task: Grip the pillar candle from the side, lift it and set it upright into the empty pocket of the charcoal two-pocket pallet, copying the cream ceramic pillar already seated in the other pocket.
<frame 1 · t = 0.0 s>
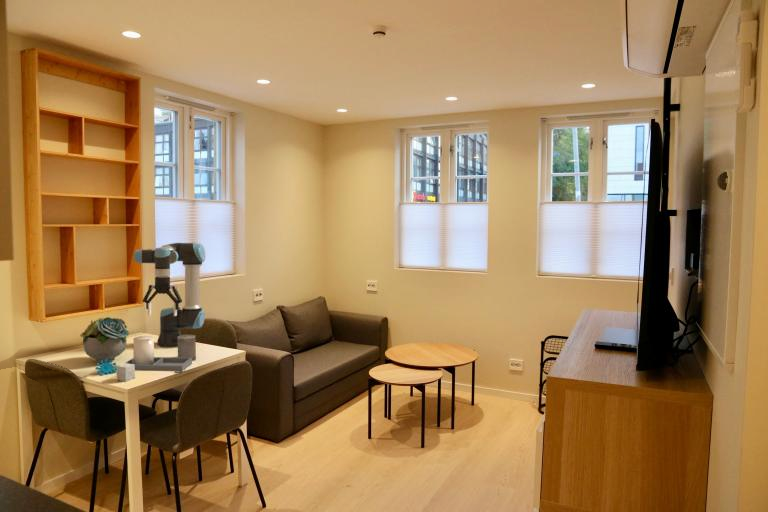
hand: (162, 315, 285), 28 cm above the table, tool pointing down, fingers open, 13 cm apart
pillar candle: (186, 360, 301), on the table
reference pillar: (143, 365, 284), point 1 cm above the table, touching pallet
gear: (107, 375, 270), on the table
pallet: (158, 367, 284), on the table
flower arrangement: (105, 361, 294), on the table
skincare box: (125, 379, 263), on the table
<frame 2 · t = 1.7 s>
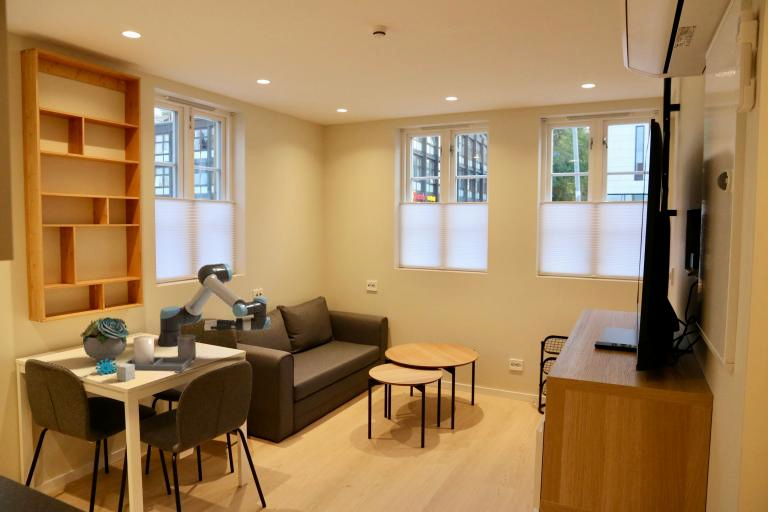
hand: (204, 325, 302), 20 cm above the table, tool horizontal, fingers open, 13 cm apart
nothing on the table moved.
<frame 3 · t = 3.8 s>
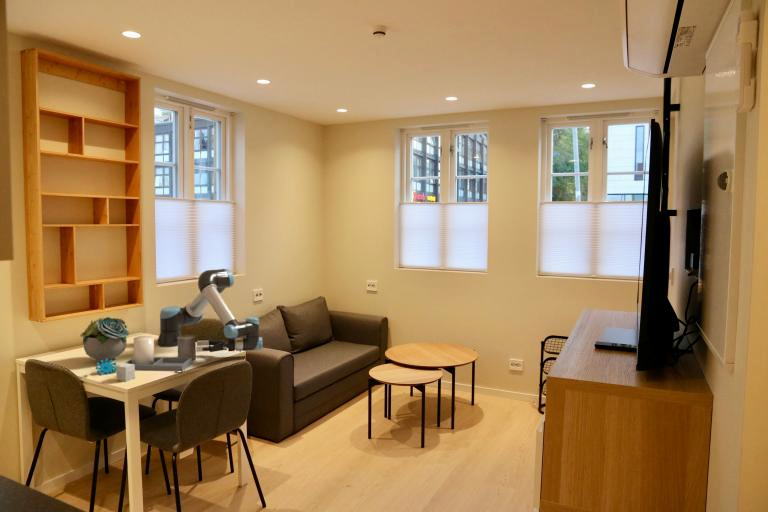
hand: (196, 346, 301), 8 cm above the table, tool horizontal, fingers open, 13 cm apart
nothing on the table moved.
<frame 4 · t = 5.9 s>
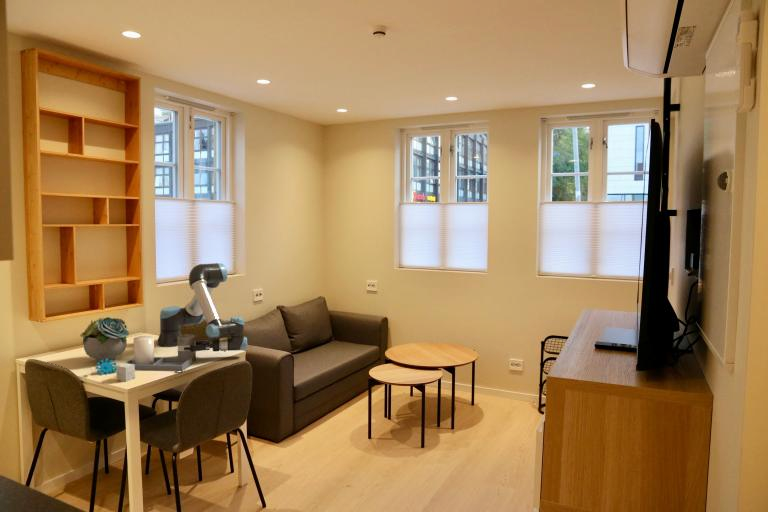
hand: (178, 346, 299), 8 cm above the table, tool horizontal, fingers closed on pillar candle, 9 cm apart
pillar candle: (186, 360, 301), on the table, touching gripper
everything else where it was.
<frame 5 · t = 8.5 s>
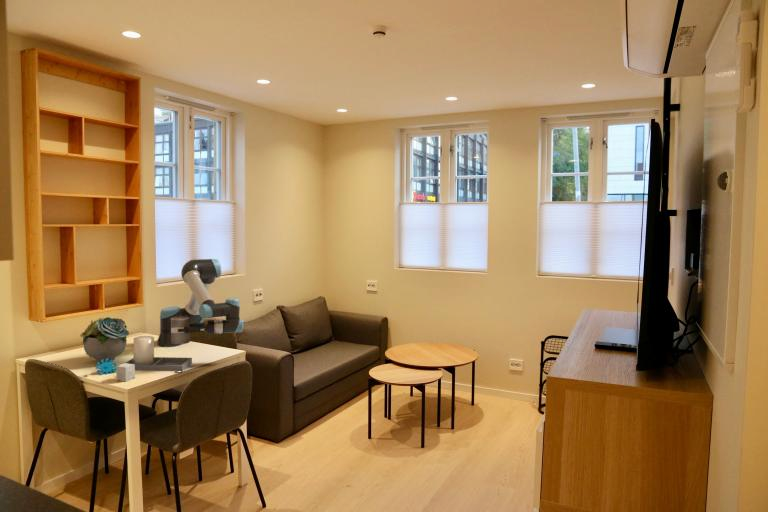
hand: (171, 328, 288), 20 cm above the table, tool horizontal, fingers closed on pillar candle, 9 cm apart
pillar candle: (180, 342, 290), point 12 cm above the table, touching gripper
everything else where it was.
when the fingers open (10 cm above the table, at t = 11.3 s): pillar candle drops 1 cm, resting on pallet.
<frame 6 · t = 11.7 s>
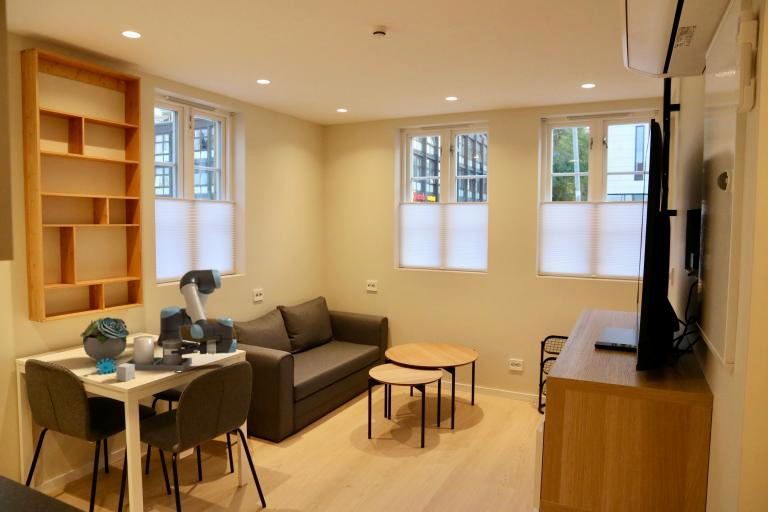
hand: (165, 349, 283), 10 cm above the table, tool horizontal, fingers open, 13 cm apart
pillar candle: (172, 366, 284), point 1 cm above the table, touching pallet
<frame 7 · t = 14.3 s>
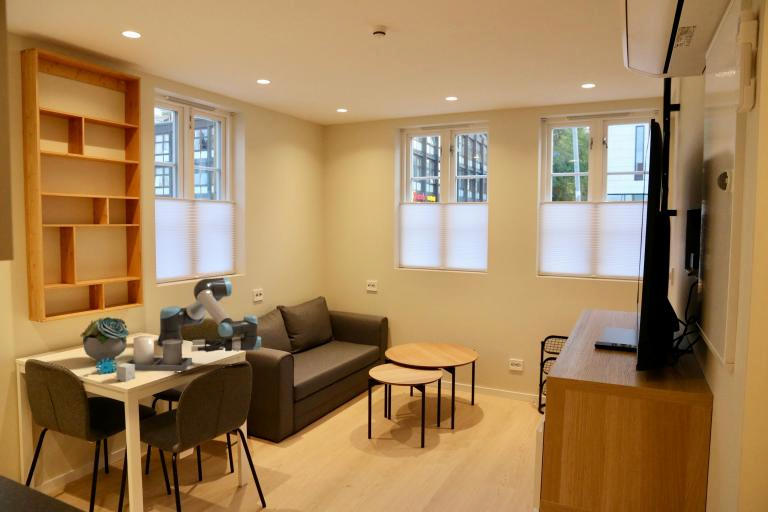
hand: (191, 345, 287), 12 cm above the table, tool horizontal, fingers open, 13 cm apart
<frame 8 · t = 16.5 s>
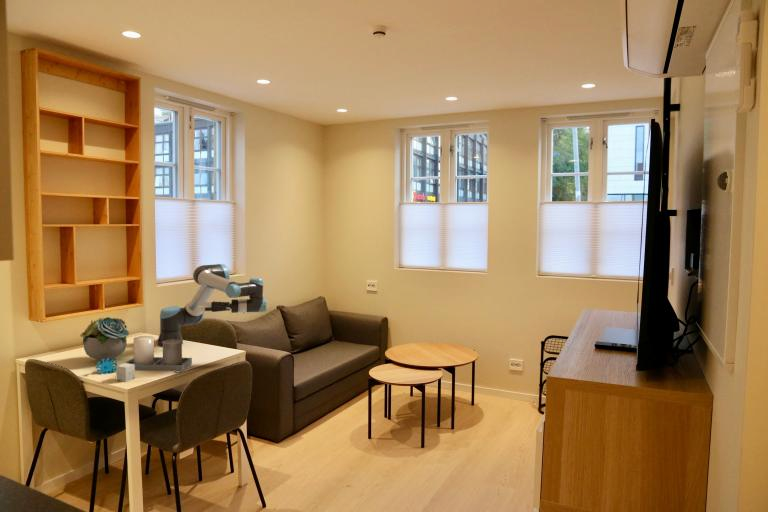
hand: (198, 306, 292), 32 cm above the table, tool horizontal, fingers open, 13 cm apart
at the end: pillar candle inside the target area on the pallet (0.2 cm from its centre), point 0.8 cm above the pallet's base; pillar candle tilted 0°; the gripper is holding nothing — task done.
